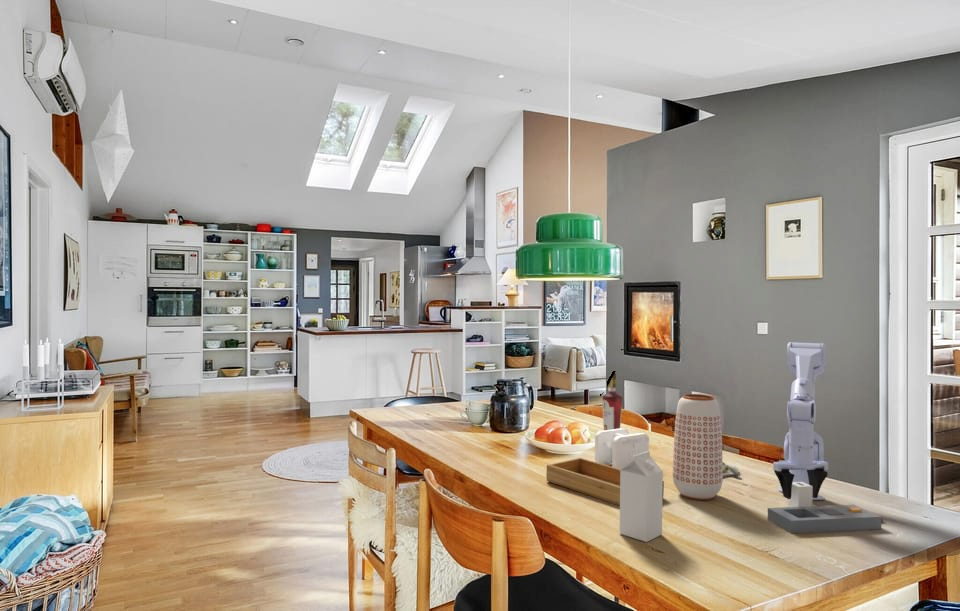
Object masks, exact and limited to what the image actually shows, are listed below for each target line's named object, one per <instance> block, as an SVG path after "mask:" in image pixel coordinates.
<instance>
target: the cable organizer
mask: <svg viewBox="0 0 960 611" xmlns="http://www.w3.org/2000/svg"><path fill="white" fill-rule="evenodd" d="M648 451H650V437H649V435H648V434H647V433H643V432H638V433H632V434H630V433H629V430H628V429H626V428H624V427H623V428H621V427H620V429H612V430H605V431H604V430H599V431H597V432H596V433H595V435H594V462H597V463H601V464H604V465H608V466H610V465H611V467H615V468H618V469H623V468H624V467H626V466H627V465H628V464H630V463H631V462H632V461H633V456H635V455H638V454H641V453H645V452H648Z"/></svg>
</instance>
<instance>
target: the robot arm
mask: <svg viewBox="0 0 960 611" xmlns="http://www.w3.org/2000/svg"><path fill="white" fill-rule="evenodd" d="M786 346H787V347H786V360H787V367H788V369H789V371H788V372H790V373H792V374H793V375H795V377H796V379H794V381H792V383H791V389H790V399H789V400H788V401H787V406H786V407H787V408H786V409H787V410H786V411H787V412H786V416H787V424H788V429H789V430H788V432H786V435H785V437H784V444H783V459H784V460H781V461H773V463H772V466H773V469H772V470H774V474H775V475H776V478H777V479H778V482H779V484H780V487H781V488H778V491H779V492H781V493H782V495H783V497H784V498H785V499H787V500H788V499H791V493H792V482H804V483H806V484H808V485H811V486H813V493H812V501H817V500H818V501H819V500H820V501H821V500H822V501H823V500H826V497H824V496H822V495H820V494H819V493H820V490H821V487H822V485H823V483H824V481H825V480H826V479H827V477H828V471H829V462H827V461H824V450H825V449H824V439H823V437H822V436H821V435H820V434H818V433H817V432H816V431H814V425H815V422H816V418H817V416H816V415H817V413H816V412H817V404H816V400H815V397H816V396H815V395H816V386H815V383H816V379H817V377H818V376H819V375H822V374H824V373H825V372H824V371H825V368H826V366H825V365H826V344H825V343H824V342H821V343H816V342H815V343H814V342H792V341H789V342H788V343H787V345H786Z"/></svg>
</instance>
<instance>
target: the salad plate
mask: <svg viewBox="0 0 960 611" xmlns="http://www.w3.org/2000/svg"><path fill="white" fill-rule="evenodd" d="M722 464H723V478H727V477H733V476H735V475H736V476H740V472H739V468H738V467H736V466H735V465H734V466H733V465H730V464H727V463H725V462H723V461H722Z"/></svg>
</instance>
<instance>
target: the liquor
mask: <svg viewBox="0 0 960 611" xmlns="http://www.w3.org/2000/svg"><path fill="white" fill-rule="evenodd" d="M616 379H617V372H614V373H613V375H612V377H611V378H610V380H609V382H608V392H607V393H605V394H603V395H601V396H602V422H603V431H605V430H612V429H620V428H621V423H622V422H621V420H622V406H623V397H622V396H621V395H620V394H618V393H617V387H616Z"/></svg>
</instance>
